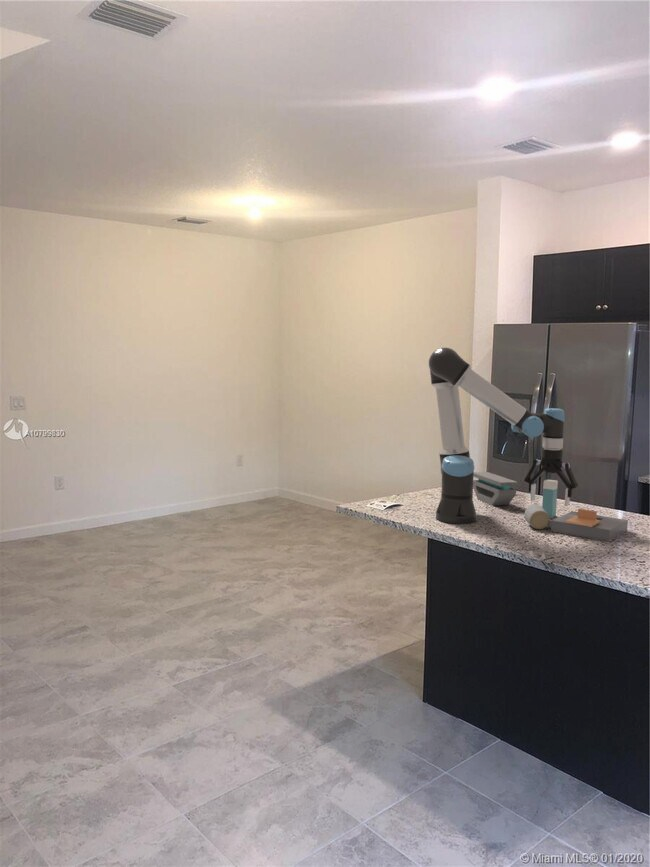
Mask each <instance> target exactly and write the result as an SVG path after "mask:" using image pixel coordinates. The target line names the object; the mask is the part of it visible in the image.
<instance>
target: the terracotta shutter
mask: <svg viewBox="0 0 650 867" xmlns="http://www.w3.org/2000/svg"><path fill="white" fill-rule="evenodd" d="M577 512H578V516H574V517H572V518H570V519H568V520H566V523H571V524H577V525H583V526H589V527H593V526H595V525H597V524H599V523H601V520H597V519H596V518H597V515H598V513H597V510H592V509H591V510H590V509H587V508H586V509H585V508H578V509H577Z"/></svg>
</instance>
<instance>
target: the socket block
mask: <svg viewBox="0 0 650 867" xmlns="http://www.w3.org/2000/svg"><path fill="white" fill-rule="evenodd" d="M574 516H578V511H573V510H572V511H570V512H567V513H564V514H563V515H561V516H558V517H555V518H554V519H551V521H552V523H551V527H550V531H551V532H552V531H553V532H554V533H557V532H558V533H557V534H563V533H564V534H563V535H570V536H574V535H576V536H575V537H580V536H581V538H586V537H587V538H588V539H591V538H594V539H593V540H597V539H600V540H599V541H603V540H607V541H606V542H608V541H609V542H611V541H612V540H611V539H613V538H614V539H616V538H617V537H616V536H618V535H619V536H621V535H622V534H621V533H623V532H624V533H626V532H627V531H628V523H629V521H628V519H625V518H617V517H611V516H605V515H598V514H597V518H596V519H597V520H601V523H599V524H597V525H595V526H593V527H589V526H583V525H577V524H571V523H566V520H568V519H570V518H572V517H574ZM626 530H627V531H626ZM625 531H626V532H625ZM553 532H552V533H553ZM624 533H623V534H624ZM620 534H621V535H620ZM619 536H618V537H619ZM615 537H616V538H615ZM587 538H586V539H587ZM614 539H613V540H614ZM610 540H611V541H610Z"/></svg>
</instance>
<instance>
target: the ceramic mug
mask: <svg viewBox="0 0 650 867" xmlns="http://www.w3.org/2000/svg"><path fill="white" fill-rule="evenodd" d="M524 519H525V521H526V523H527V524H528V525H530V526H531V527H532V528H533V529H536V530H543V529H545V528H546V527H548V528H551V523H552V520H551V519H550V518H549V516H548V514H547V512H546V511H545V510H544V509H543V508H542V505H539V504H531V505H529V506H528V507H527V508H526V509H525V510H524Z"/></svg>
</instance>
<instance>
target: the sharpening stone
mask: <svg viewBox="0 0 650 867" xmlns="http://www.w3.org/2000/svg"><path fill="white" fill-rule="evenodd" d="M473 478H476V479H477V480H476V479H475V480H474V479H473V492H474V494H475V497H476V498H477V500H478V501H479V500H480V502H481V501H482V503H484V502H485V504H486V503H487V505H489V506H491V505H493V506H508V505H509V504H510V503H511V502H512V500H513V499H514V498H515V497H516V494H517V489H515V488H513V487H515V486H516V487H518V486H519V482H518V481H516V480H513V479H510V478H507V477H505V476H501V475H498V474H495V473H492V472H488V471H482V472H481V471H479V472H477V471H476V472H475V471H474V475H473Z"/></svg>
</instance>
